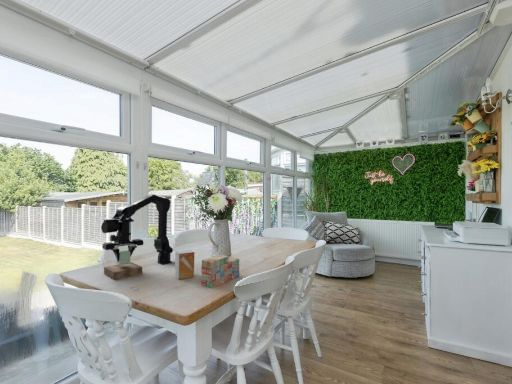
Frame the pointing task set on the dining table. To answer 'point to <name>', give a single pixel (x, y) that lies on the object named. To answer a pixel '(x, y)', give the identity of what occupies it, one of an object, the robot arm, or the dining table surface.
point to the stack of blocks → (219, 270)
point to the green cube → (124, 258)
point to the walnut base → (122, 270)
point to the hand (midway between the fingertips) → (123, 260)
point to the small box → (184, 264)
